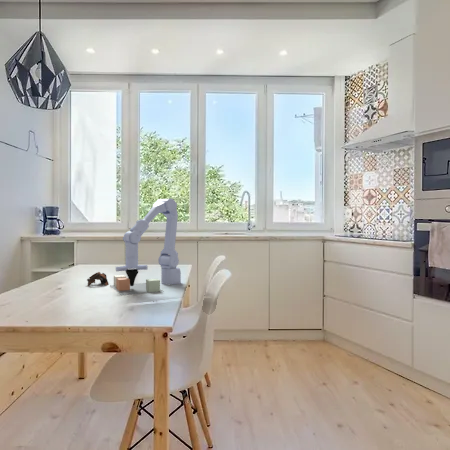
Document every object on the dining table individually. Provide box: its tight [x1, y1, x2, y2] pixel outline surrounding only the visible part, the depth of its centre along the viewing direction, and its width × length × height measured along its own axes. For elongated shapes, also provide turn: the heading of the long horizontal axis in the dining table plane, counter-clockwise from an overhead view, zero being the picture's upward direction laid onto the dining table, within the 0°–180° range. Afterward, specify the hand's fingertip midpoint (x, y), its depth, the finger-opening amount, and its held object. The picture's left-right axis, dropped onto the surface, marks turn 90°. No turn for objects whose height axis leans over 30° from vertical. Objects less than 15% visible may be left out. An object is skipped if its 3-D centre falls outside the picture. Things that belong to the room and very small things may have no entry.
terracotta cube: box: [117, 277, 130, 291], centre depth 174 cm, size 5×5×5 cm
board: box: [110, 282, 165, 296], centre depth 177 cm, size 19×26×1 cm
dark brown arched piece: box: [86, 271, 109, 286], centre depth 188 cm, size 12×10×8 cm
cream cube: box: [113, 274, 127, 288], centre depth 183 cm, size 5×5×5 cm
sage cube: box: [145, 278, 161, 293], centre depth 172 cm, size 5×5×5 cm
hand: (131, 285), depth 176 cm, fingers closed
